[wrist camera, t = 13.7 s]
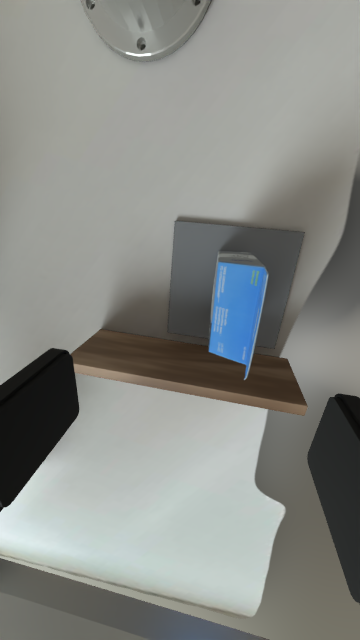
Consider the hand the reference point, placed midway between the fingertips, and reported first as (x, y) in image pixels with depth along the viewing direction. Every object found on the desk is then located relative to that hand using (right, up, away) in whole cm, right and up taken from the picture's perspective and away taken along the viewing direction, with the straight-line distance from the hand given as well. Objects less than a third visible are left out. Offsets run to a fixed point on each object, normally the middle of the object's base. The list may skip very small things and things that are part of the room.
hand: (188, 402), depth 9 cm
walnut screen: (+1, -1, +25) cm, 25 cm away
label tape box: (+6, +7, +20) cm, 22 cm away
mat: (+5, +7, +21) cm, 23 cm away
